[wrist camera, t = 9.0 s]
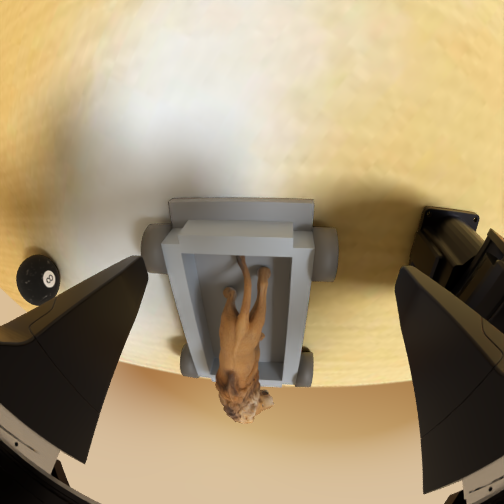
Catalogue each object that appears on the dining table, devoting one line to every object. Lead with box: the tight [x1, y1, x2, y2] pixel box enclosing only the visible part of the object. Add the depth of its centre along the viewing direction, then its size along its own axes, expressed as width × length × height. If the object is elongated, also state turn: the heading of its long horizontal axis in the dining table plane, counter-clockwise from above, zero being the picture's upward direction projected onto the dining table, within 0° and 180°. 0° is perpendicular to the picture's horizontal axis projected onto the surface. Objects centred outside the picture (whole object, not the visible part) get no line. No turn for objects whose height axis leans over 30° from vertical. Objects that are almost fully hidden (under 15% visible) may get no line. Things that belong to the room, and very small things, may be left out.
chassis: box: [141, 198, 339, 387], centre depth 24 cm, size 14×22×4 cm, turn 2°
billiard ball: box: [16, 255, 60, 306], centre depth 25 cm, size 6×6×6 cm
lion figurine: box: [215, 255, 274, 423], centre depth 22 cm, size 15×5×9 cm, turn 6°
